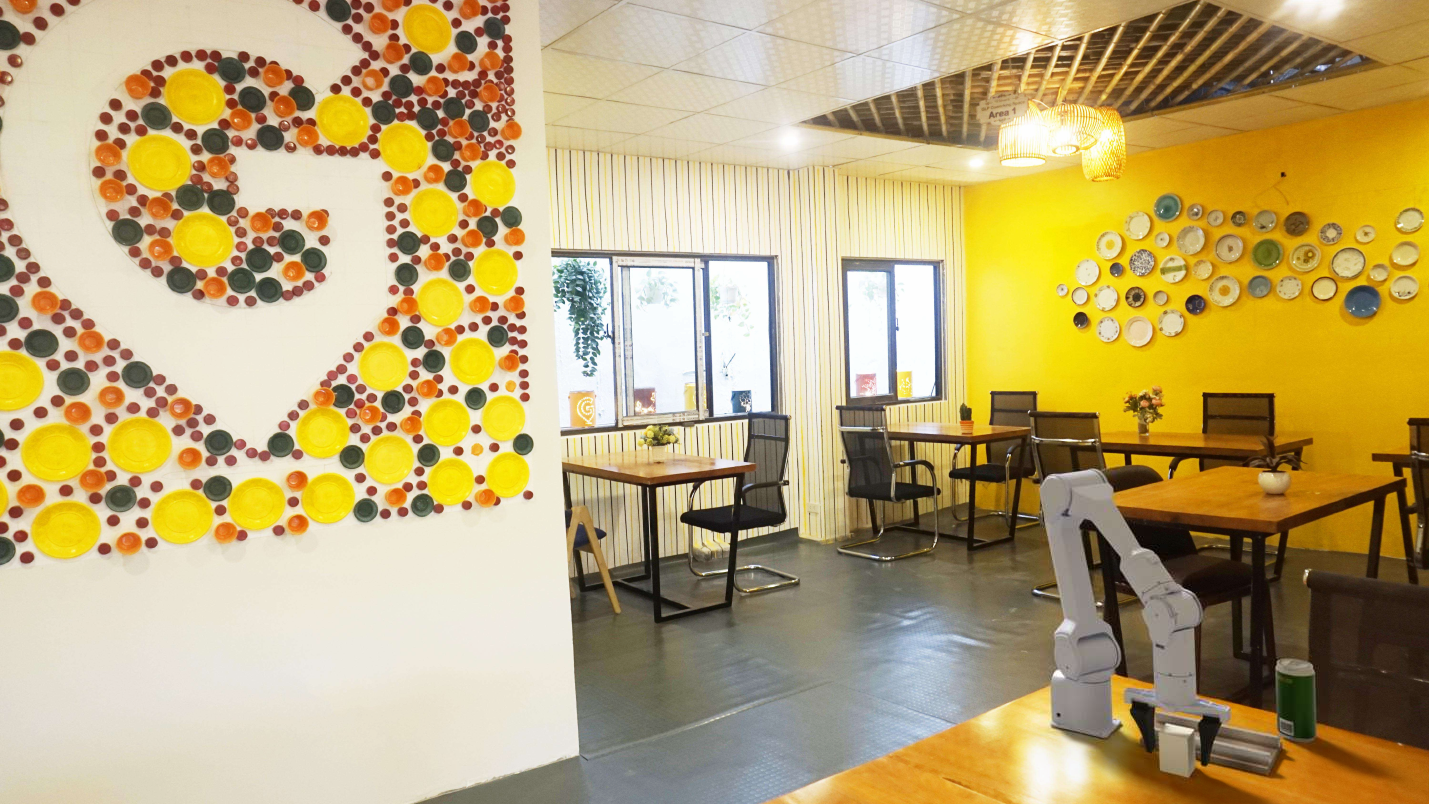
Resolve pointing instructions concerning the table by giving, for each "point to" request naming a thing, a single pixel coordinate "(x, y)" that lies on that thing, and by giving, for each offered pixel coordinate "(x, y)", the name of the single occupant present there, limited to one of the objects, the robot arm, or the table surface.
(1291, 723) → the beer can
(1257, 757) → the track
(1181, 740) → the cream block
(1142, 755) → the table surface
